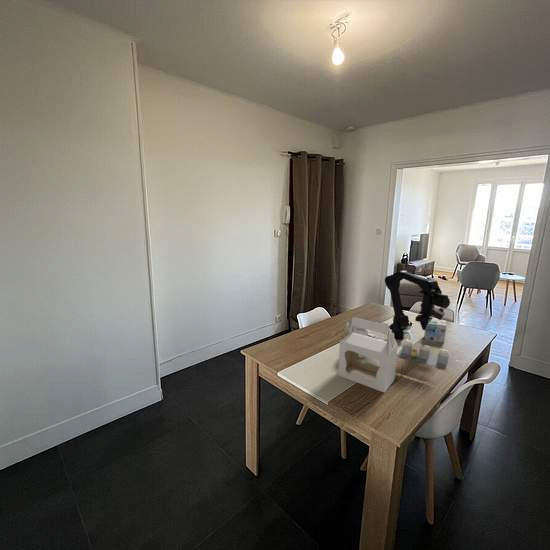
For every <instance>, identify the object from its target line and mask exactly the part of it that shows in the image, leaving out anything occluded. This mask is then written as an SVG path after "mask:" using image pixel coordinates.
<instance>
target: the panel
mask: <svg viewBox="0 0 550 550" xmlns="http://www.w3.org/2000/svg"><path fill="white" fill-rule="evenodd" d="M411 350H414V349H413V345H412V347H411V348H408V347H404V346H403V345H402V347H401V349H400V350H399V352H397V356H398V357H401V358H403V359H407V360H411V361H415V362H419V363H422V364H426V365H430V366H432V367H435V368H436V367H437V368H440V369H443V370H447V371H448V370H450V366H451V364H452V361H453V360H452V358H451V359H450V358H449V356H450V355H449V356H448V357H442V356H440V355H439V353H438V355H435V354H432V353H431V351H430V352H423V351H421V350H420V349H419V350H417V359H411V358H410V355H411Z"/></svg>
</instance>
